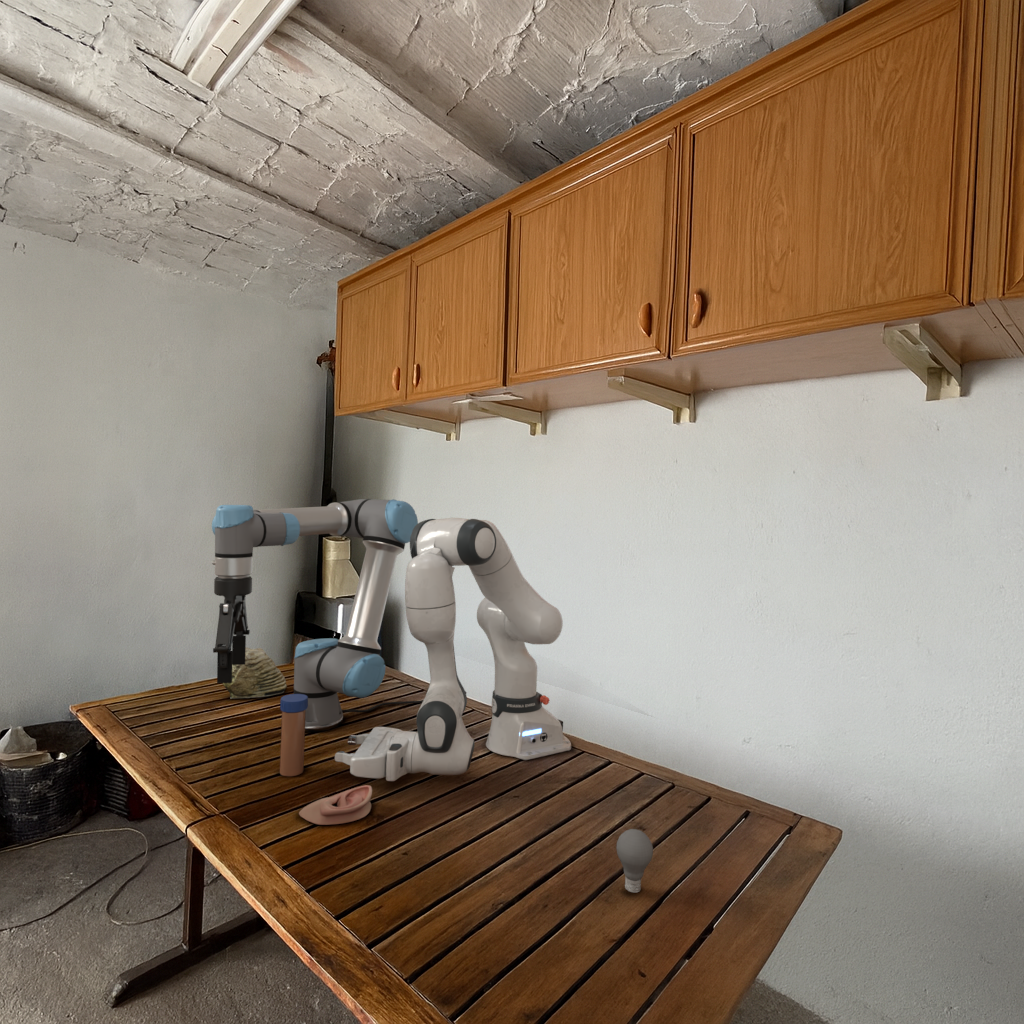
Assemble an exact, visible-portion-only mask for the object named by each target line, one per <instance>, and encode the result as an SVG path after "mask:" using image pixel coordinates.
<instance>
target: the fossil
mask: <svg viewBox="0 0 1024 1024" xmlns="http://www.w3.org/2000/svg"><path fill="white" fill-rule="evenodd" d="M222 685H223V687H224V688H225V690H226V691H228V693H229V698H230V699H250V698H264V697H271V696H275V695H281V694H284V693H285V691H286V689H287V687H288V686H287V680H286V678H285V676H284V674H283V673H282V672H281V669H279V668H278V667H277V665H276V663H275V662H274V660H273V659H272V658H271V657H270V656H269V655H268V654H267V653H266V652H265V650H264V649H263V648H260V647H258V648H251V647H247V646H246V655H245V665H232V682H231V683H222Z"/></svg>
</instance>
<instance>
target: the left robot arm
mask: <svg viewBox="0 0 1024 1024" xmlns="http://www.w3.org/2000/svg"><path fill="white" fill-rule="evenodd" d="M418 523H419V520H418V516H417V514H416V510H415V509H414V507H413V506H412V505H411V504H410V503H408V502H406V501H404V500H397V499H395V498H393V499H378V498H377V499H375V498H360V499H359V498H358V499H353V500H346V501H337V502H330V503H328V505H326V506H307V507H305V506H304V507H284V508H266V509H265V508H262V509H254V507H253V506H252V505H249V504H221V505H218V506H217V507H216V509H215V514H214V517H213V518H212V521H211V531H212V533H213V535H214V560H212V561H211V564H212V565H213V566H214V575H215V576H216V577H215V578H214V580H213V592H214V595H215V596H219V597H223V598H224V599H223V603H221V602H220V603H219V605H218V607H219V610H218V613H219V614H218V621H217V628H216V629H217V630H216V637H215V646H214V648H212V652H213V653H214V654H215V653H217V655H216V656H217V661H216V663H217V664H216V683H217V684H223V683H231V682H232V665H245V655H246V647H247V635H248V636H249V635H250V633H251V631H250V629H249V625H248V613H247V603H246V598H247V597H246V596H247V595H250V594H251V593H252V592H253V577H252V576H250V575H252V574H253V573H254V572H253V571H254V570H253V569H254V567H253V565H254V563H253V562H254V561H253V560H254V559H253V558H254V548H258V547H260V548H261V547H278V546H281V547H283V546H288V545H292V544H294V543H295V542H297V540H298V539H299V537H303V536H304V537H306V536H314V535H327V534H329V535H330V536H332V537H351V538H358V539H362V544H363V545H364V547H365V554H364V558H363V562H362V566H361V570H360V574H359V578H358V582H357V587H356V591H355V595H354V598H353V603H352V607H351V611H350V615H349V619H348V623H347V627H346V631H345V635H344V636H342V637H341V638H339V639H338V638H335V637H333V638H332V637H329V638H315V639H308V640H304V641H302V642H299V643H298V644H297V645H296V646H295V652H294V653H295V654H294V656H293V659H294V660H293V662H294V663H293V665H294V667H293V694H303V695H306V696H308V707H307V709H306V718H305V733H316V732H325V731H329V730H332V729H335V728H337V727H339V726H340V725H342V723H343V722H344V714H343V713H367V712H372V711H373V710H375V709H377V708H379V707H382V706H390V705H408V704H422V702H423V700H405V701H403V700H402V701H388V702H387V701H386V702H381V703H378V704H376V705H373V706H372V707H370V708H366V709H342V706H341V702H340V699H339V695H338V694H342V695H345V696H347V697H349V698H350V697H352V698H359V699H362V698H367V697H370V696H371V695H372V694H374V692H376V691H377V690H378V689H379V688H380V686H381V685H382V682H383V681H384V678H385V674H386V664H385V659H384V658H383V657H382V656H381V651H382V647H381V646H380V644H379V642H378V639H379V638H378V637H379V635H380V631H381V626H382V621H383V618H384V613H385V609H386V604H387V600H388V595H389V592H390V587H391V584H392V583H391V582H392V579H393V575H394V571H395V566H396V561H397V558H398V556H399V555H400V554H402V553H403V552H404V551H405V548H406V544H408V543H410V537H411V534H412V531H413V529H414V527H415V526H416V525H417V524H418ZM465 692H466V693H467V691H466V690H465Z"/></svg>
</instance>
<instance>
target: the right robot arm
mask: <svg viewBox="0 0 1024 1024" xmlns="http://www.w3.org/2000/svg"><path fill="white" fill-rule="evenodd" d="M409 551H410V552H409V553H410V557H411V559H410V560H409V561H408V563H407V565H406V570H405V571H406V573H405V581H404V604H405V605H404V606H405V614H406V621H407V625H408V629H409V632H410V635H411V636H412V637H413V638H414V639H415V640H417V641H418V642H421V643H423V644H424V645H425V647H426V652H427V661H428V668H429V676H430V681H429V685H428V688H427V690H426V693H425V696H424V699H423V700H422V701H423V702H422V703H420V706H419V708H418V711H417V713H416V730H417V731H409V730H407V731H406V730H402V729H400V728H395V727H390V726H389V727H388V726H375V727H373V728H372V730H371V731H370V732H369V733H362V734H358V735H357V734H356V735H355V734H351V735H349V737H348V738H347V745H349V746H356V745H360V746H359V747H358V749H357V750H356V751H355V752H353V753H347V752H346V751H345V750H337V752H336V753H334V761H335V762H338V763H343V764H345V765H347V766H349V773H350V774H351V775H352V776H354V777H357V778H364V779H365V778H367V779H384V778H385V780H386V781H387V782H395V781H397V780H398V779H400V778H401V777H403V776H405V775H407V774H418V773H426V774H429V775H432V776H433V775H434V776H457V775H458V776H459V775H463V774H466V772H467V771H469V769H470V767H471V763H472V759H473V755H474V752H475V751H474V750H475V745H476V743H475V739H474V738H473V737H472V736H471V735H470V733H469V731H468V729H467V728H466V726H465V723H464V720H463V714H464V712H465V711H466V708H467V704H468V696H467V691H466V690H465V688H464V686H463V684H462V683H461V681H460V679H459V675H458V672H457V665H456V653H455V642H454V641H455V638H454V637H455V631H456V621H457V605H456V602H457V601H456V594H455V592H456V591H455V585H454V581H453V576H454V572H455V569H456V566H457V567H461V566H463V567H464V566H468V568H469V570H470V572H471V574H472V576H473V578H474V580H475V583H476V584H477V586H478V588H479V590H480V592H481V594H482V596H483V597H484V598H483V599H482V600H481V601H480V602H479V604H478V607H477V610H476V621H477V623H478V626H479V628H481V629H482V631H483V632H484V634H485V635H486V638H487V639H488V642H489V645H490V648H491V651H492V655H493V656H492V657H493V661H494V689H493V691H492V698H491V714H492V715H491V722H490V726H489V727H490V728H489V731H488V735H487V739H486V741H485V747H486V748H487V749H488V750H489V751H491V752H492V753H494V754H498V755H502V756H506V757H512V758H513V757H514V758H517V759H520V760H523V761H528V760H529V761H530V760H533V759H539V758H542V757H546V756H550V755H555V754H559V753H565V752H568V751H571V750H572V742H571V741H570V739H569V738H568V737H567V736H565V735H564V721H563V720H561V719H559V718H557V717H556V716H555V715H554V714H552V713H551V712H550V711H549V710H548V709H546V708H545V707H544V706H547V705H549V703H550V702H551V701H550V698H549V697H548V696H546V695H544V694H542V693H540V692H538V691H537V690H538V689H537V687H538V664H537V660H536V659H535V658H534V657H533V656H532V655H531V653H530V652H529V650H528V648H527V646H526V644H530V645H551V644H553V643H555V642H556V641H557V640H558V638H559V637H560V636H561V633H562V631H563V626H564V621H563V616H562V614H561V611H560V610H559V608H557V607H556V606H554V605H553V604H551V603H550V602H548V601H547V600H546V599H544V598H543V597H542V596H541V594H539V593H538V592H537V591H536V590H535V589H534V587H533V586H532V585H531V584H530V583H529V581H527V578H525V576H524V575H523V573H522V571H521V570H520V567H519V565H518V564H517V561H516V559H515V557H514V555H513V553H512V550H511V548H510V546H509V545H508V543H507V541H506V539H505V538H504V536H503V534H502V533H501V531H500V530H499V529H498V527H497V526H496V525H495V523H493V522H491V521H490V520H486V519H478V518H462V517H445V518H429V519H425V520H422V521H419V522H418V524H417V525H416V526H415V527H414V529H413V531H412V534H411V537H410V542H409ZM465 691H466V692H465Z"/></svg>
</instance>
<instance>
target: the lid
mask: <svg viewBox="0 0 1024 1024" xmlns="http://www.w3.org/2000/svg"><path fill="white" fill-rule="evenodd" d="M307 707H308V696H306V695H303V694H294V693H292V694H291V693H289V694H286V695H283V696H281V697H280V701H279V709H280V712H282V711H283V712H289V713H294V712H301V711H304V710H306V709H307Z"/></svg>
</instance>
